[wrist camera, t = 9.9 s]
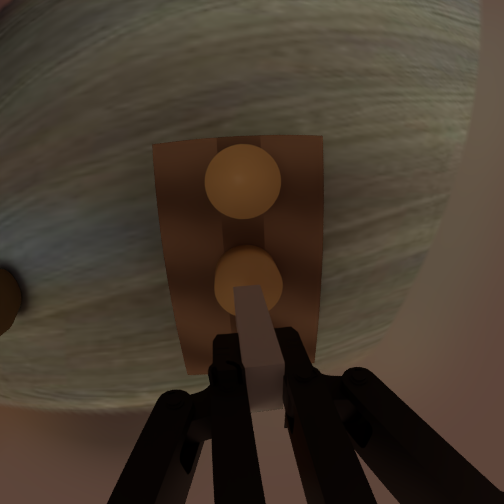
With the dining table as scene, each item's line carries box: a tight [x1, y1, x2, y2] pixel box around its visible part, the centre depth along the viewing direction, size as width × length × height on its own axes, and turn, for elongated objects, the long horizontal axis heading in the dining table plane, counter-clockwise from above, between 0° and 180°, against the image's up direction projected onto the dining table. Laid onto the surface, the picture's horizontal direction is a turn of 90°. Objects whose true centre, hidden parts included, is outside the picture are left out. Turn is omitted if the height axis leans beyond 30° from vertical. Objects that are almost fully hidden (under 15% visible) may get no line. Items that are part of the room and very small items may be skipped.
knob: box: [205, 144, 281, 219], centre depth 20 cm, size 5×5×8 cm
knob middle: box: [214, 245, 283, 315], centre depth 23 cm, size 5×5×8 cm
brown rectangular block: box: [152, 135, 324, 375], centre depth 24 cm, size 20×12×6 cm, turn 3°
